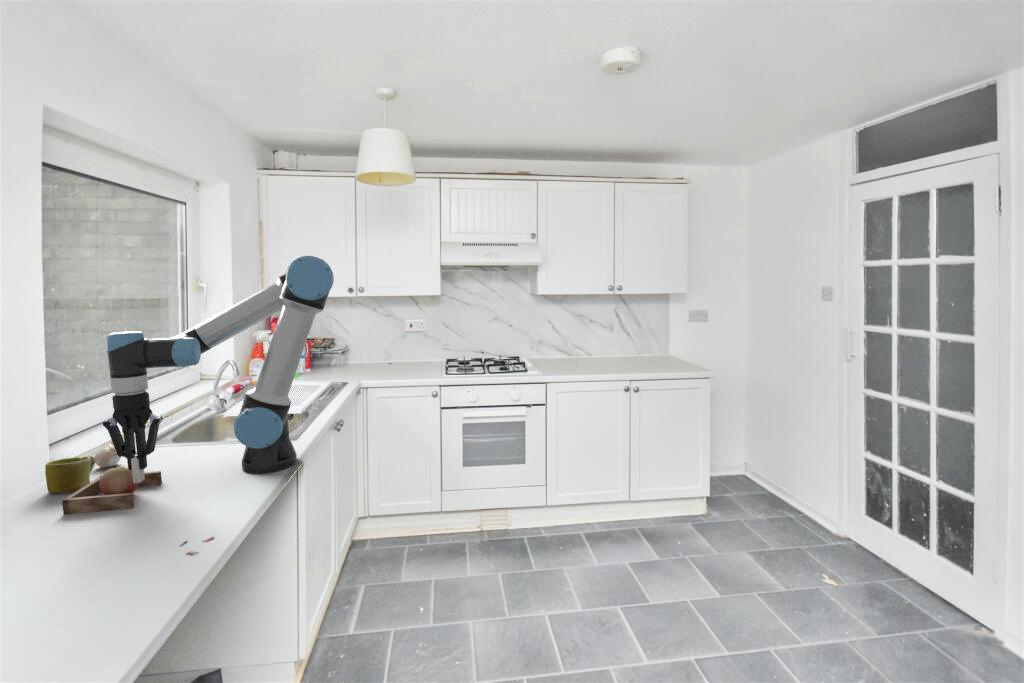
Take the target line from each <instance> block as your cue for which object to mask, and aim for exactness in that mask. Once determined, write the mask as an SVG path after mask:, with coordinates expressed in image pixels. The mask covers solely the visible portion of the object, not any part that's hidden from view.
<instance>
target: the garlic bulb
mask: <svg viewBox="0 0 1024 683" xmlns="http://www.w3.org/2000/svg"><path fill="white" fill-rule="evenodd" d="M93 457H94V459H95V465H97V466H98V467H100V468H103V469H106V468H112V467H114V466H116V465H117V464H118V463H119V462H120V460H121V457H119V456H118V455H117V452H116V450H115V447H114V445H113V442H112V441H111V442H110V443H108V444H107V445H106V446H104V447H103V448H102V449H100V450H99V451H97V452H96V453H95V454H94V456H93Z"/></svg>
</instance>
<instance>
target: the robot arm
mask: <svg viewBox="0 0 1024 683" xmlns="http://www.w3.org/2000/svg"><path fill="white" fill-rule="evenodd" d="M334 278H335V277H334V273H333V270H332V268H331V266H330V265H329V263H328V262H327V261H325V260H324V259H322V258H320V257H318V256H314V255H302V256H300V257H298V258H296V259H294V260H293V261H292V262H291V263H290V264H289V265H288V266H287V269H286V272H285V273H284V274H283V275H282V274H281V275H280V276H279V277H277V281H276V282H275V283H272V284H271V285H269V286H268V287H266V288H263V289H262V290H260V291H258V292H255V293H254V294H252V295H251V296H249V297H247V298H245V299H243V300H242V301H240V302H237V303H236V304H234V305H231V306H230V307H229V308H226V309H225V310H223V311H221V312H218V313H217V314H215V315H213V316H212V317H209V318H207V319H206V320H204V321H202V322H200V323H199V324H196V325H195V326H193V327H191V328H189V329H187V330H186V331H183V332H182V333H180V334H177V335H175V336H171V337H166V338H162V337H161V338H145V335H144V332H142V331H140V330H139V331H138V330H137V331H136V330H135V331H133V330H131V331H128V330H127V331H116V332H115V331H114V332H112V333H109V334H108V336H106V337H107V339H106V342H107V350H106V353H107V357H108V358H107V360H108V366H109V367H108V368H109V374H110V375H109V377H110V387H111V393H112V394H113V395H112V398H111V399H112V407H113V413H112V417H110V418H109V419H107V420H105V421H103V422H102V426H103V427H104V428H105V429H106V430H107V432H108V434H109V437H110V440H111V442H113V445H114V447H115V450H116V452H117V455H118V456H119V457H122V458H125V459H126V460H127V468H128V469H129V470H132V475H133V483H140V482H142V481H143V480H144V479H145V476H144V472H145V469H146V468H147V466H148V459H147V456H149V455H150V454H152V453H154V452H155V450H156V449H155V448H156V445H157V440H158V439H157V438H158V433H159V427H160V425H161V423H162V421H163V420H164V417H163V416H161V415H160V416H157V415H156V414H154V413H153V410H152V409H151V407H150V405H151V402H150V401H151V399H150V394H149V393H150V392H149V391H148V389H149V382H148V371H147V370H148V369H153V368H179V367H180V368H185V367H192V366H197V365H198V364H199V363H200V360H201V356H202V354H204V353H206V352H208V351H209V350H211V349H213V348H215V347H217V346H218V345H221V344H222V343H224V342H226V341H228V340H229V339H231V338H234V337H235V336H236V335H238V334H240V333H242V332H245V331H246V330H248V329H250V328H252V327H253V326H254V325H255V326H256V325H257V324H259V323H261V322H262V321H264V320H266V319H268V318H269V317H272V316H273V315H275V314H276V313H279V312H280V314H279V317H278V320H277V323H276V325H275V329H274V332H273V333H272V334H273V335H272V337H271V340H270V343H269V346H268V349H267V352H266V355H265V357H264V360H263V363H262V367H261V369H260V373H259V375H258V378H257V381H256V384H255V387H253V388H251V389H250V390H247V391H246V392H245V393H244V394H243V400H242V401H243V403H242V404H241V408H240V411H239V414H238V415H237V417H235V420H234V423H233V430H234V431H233V432H234V435H235V437H236V439H237V440H238V441H239V443H241V444H242V445H244V446H245V447H244V451H243V456H242V458H241V470H242V471H244V472H246V473H250V474H263V473H264V474H266V473H273V472H278V471H281V470H284V469H285V470H286V469H287V468H290V467H292V466H294V465H295V464H296V463H297V461H298V459H297V458H298V457H297V456H298V455H297V452H296V450H295V448H294V445H293V442H292V441H291V438H290V427H289V412H290V407H291V406H292V401H291V399H290V397H289V393H290V390H291V388H292V385H293V382H294V378H295V377H296V373H297V370H298V366H299V365H300V361H301V358H302V356H303V352H304V350H305V346H306V344H307V340H308V338H309V336H310V332H311V328H312V326H313V323H314V321H315V317H316V315H318V314H319V313H322V312H324V308H325V307H326V306H325V305H326V304H327V300H328V298H329V294H330V291H331V289H332V287H333V284H334V281H335V280H334ZM148 421H149V424H150V425H149V428H148V433H147V437H146V427H147V426H146V424H147V423H148ZM118 425H119V426H120V427H121V430H120V428H119V426H118ZM122 433H123V435H122Z"/></svg>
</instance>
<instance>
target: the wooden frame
mask: <svg viewBox="0 0 1024 683" xmlns="http://www.w3.org/2000/svg"><path fill="white" fill-rule="evenodd" d="M144 476H145V479H144V480H143V481H142V482H140V483H138V486H137V488H138V487H149V486H152V487H153V486H161V484H163V481H162V470H156V471H144ZM101 477H102V475H100V476H98V477H97V478H95V479H94V480H92V481H90V483H89V484H87V485H86V486H84V487H83V488H81V489H79V490H78V491H76V492H72V494H70V495H68V496H67V497H64V498H63V499H62V500H61V503H62V511H63V512H62V513H63V514H62V515H74V514H83V513H84V514H86V513H93V512H94V513H95V512H96V513H97V512H106V511H107V512H108V511H119V510H127V509H128V510H129V509H132V508H134V506H135V504H134V503H135V501H134V494H133V493H134V492H133V493H125V494H113V495H104V494H103V495H99V494H101V493H102V492H101V490H100V486H99V482H100V479H101Z"/></svg>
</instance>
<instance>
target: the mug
mask: <svg viewBox="0 0 1024 683" xmlns="http://www.w3.org/2000/svg"><path fill="white" fill-rule="evenodd" d="M94 457H95V456H93V455H85V456H82V457H78V456H77V457H69V458H67V457H66V458H60V459H54V460H51V461H48V462H46V463H45V464H44V465H45V466H44V467H45V468H44V470H45V472H44V473H45V481H46V482H45V483H46V488H47V492H48V493H50V494H51V495H55V494H57V495H58V494H59V495H60V494H66V493H75V492H76V491H78V490H79V489H81V488H83V487H84V486H86V485H87V484H89V483H90V482H91V479H90V478H91V477H90V475H91V472H92V471H93V470H94V466H95V465H96V463H95V459H94Z"/></svg>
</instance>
